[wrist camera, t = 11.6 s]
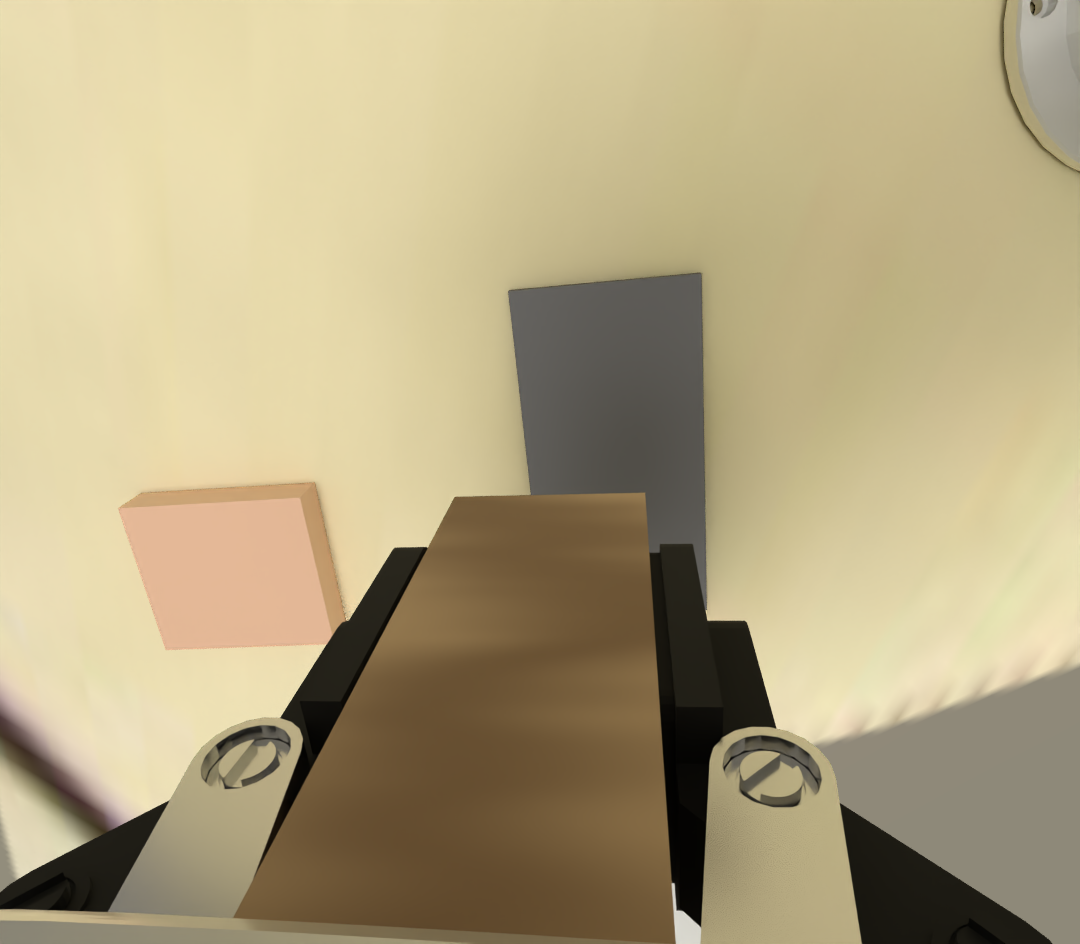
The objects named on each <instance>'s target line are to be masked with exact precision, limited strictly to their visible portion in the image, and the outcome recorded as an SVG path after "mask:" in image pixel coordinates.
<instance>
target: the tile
mask: <svg viewBox="0 0 1080 944" xmlns="http://www.w3.org/2000/svg"><path fill="white" fill-rule="evenodd" d="M118 510H119V513H120V516H121V519H122V522H123V525H124V527H125V530H126V533H127V536H128V539H129V542H130V545H131V548H132V551H133V554H134V557H135V560H136V563H137V566H138V569H139V572H140V575H141V578H142V581H143V584H144V587H145V590H146V593H147V596H148V598H149V601H150V604H151V607H152V610H153V613H154V616H155V619H156V622H157V625H158V628H159V631H160V634H161V637H162V640H163V643H164V646H165V649H166V650H178V649H206V648H234V647H262V646H290V645H318V644H327V643H328V642H329V640H330V639H331V637H332V635H333V634H334V632H335V631H336V629H337V628H338V626H339V625H340V624H341V623H342V622H345V621H346V620H345V615H344V611H343V606H342V602H341V597H340V593H339V589H338V584H337V580H336V575H335V571H334V566H333V562H332V557H331V553H330V548H329V544H328V540H327V535H326V531H325V526H324V522H323V517H322V513H321V508H320V504H319V499H318V495H317V491H316V486H315V483H300V484H283V485H266V486H250V487H233V488H217V489H200V490H183V491H167V492H150V493H141V494H139V495H138V496H136V497H135V498H133V499H131V500H130V501H128V502H127V503H125V504H124V505H122V506H121V507H119V508H118Z"/></svg>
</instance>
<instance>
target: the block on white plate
mask: <svg viewBox="0 0 1080 944" xmlns="http://www.w3.org/2000/svg"><path fill="white" fill-rule="evenodd" d="M233 918H239V919H258V920H278V921H297V922H315V923H333V924H351V925H368V926H386V927H404V928H421V929H438V930H455V931H472V932H489V933H506V934H523V935H540V936H556V937H571V938H587V939H603V940H618V941H634V942H650V943H665V944H700V943H701V927H700V926H699V925H698V924H696V923H695V922H694V921H693V920H692V919H691V918H690V917H689V916H688V915H687V914H686V913H685V912H683V911H676V897H675V883H672V881H671V866H670V851H669V837H668V822H667V807H666V792H665V778H664V763H663V748H662V733H661V719H660V704H659V689H658V674H657V660H656V645H655V630H654V616H653V601H652V586H651V571H650V557H649V542H648V527H647V512H646V498H645V493H608V494H564V495H519V496H475V497H455V498H454V499H453V501H452V503H451V505H450V507H449V509H448V511H447V513H446V515H445V517H444V518H443V520H442V522H441V524H440V526H439V528H438V530H437V532H436V534H435V536H434V537H433V539H432V541H431V543H430V545H429V547H428V549H427V551H426V553H425V554H424V556H423V558H422V560H421V562H420V564H419V566H418V568H417V570H416V572H415V573H414V575H413V577H412V579H411V581H410V583H409V585H408V587H407V589H406V591H405V592H404V594H403V596H402V598H401V600H400V602H399V604H398V606H397V608H396V610H395V611H394V613H393V615H392V617H391V619H390V621H389V623H388V625H387V627H386V628H385V630H384V632H383V634H382V636H381V638H380V640H379V642H378V644H377V646H376V647H375V649H374V651H373V653H372V655H371V657H370V659H369V661H368V663H367V665H366V666H365V668H364V670H363V672H362V674H361V676H360V678H359V680H358V682H357V684H356V685H355V687H354V689H353V691H352V693H351V695H350V697H349V699H348V701H347V702H346V704H345V706H344V708H343V710H342V712H341V714H340V716H339V718H338V720H337V721H336V723H335V725H334V727H333V729H332V731H331V733H330V735H329V737H328V739H327V740H326V742H325V744H324V746H323V748H322V750H321V752H320V754H319V756H318V758H317V759H316V761H315V763H314V765H313V767H312V769H311V771H310V773H309V775H308V776H307V778H306V780H305V782H304V784H303V786H302V788H301V790H300V792H299V794H298V795H297V797H296V799H295V801H294V803H293V805H292V807H291V809H290V811H289V813H288V814H287V816H286V818H285V820H284V822H283V824H282V826H281V828H280V830H279V832H278V833H277V835H276V837H275V839H274V841H273V843H272V845H271V847H270V849H269V850H268V852H267V854H266V856H265V858H264V860H263V862H262V864H261V866H260V868H259V869H258V871H257V873H256V875H255V877H254V879H253V881H252V883H251V885H250V887H249V888H248V890H247V892H246V894H245V896H244V898H243V900H242V902H241V904H240V906H239V907H238V909H237V911H236V913H235V915H234V917H233Z"/></svg>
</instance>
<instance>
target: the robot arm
mask: <svg viewBox="0 0 1080 944" xmlns="http://www.w3.org/2000/svg"><path fill="white" fill-rule="evenodd" d="M1031 2H1033V3H1034V4H1035V12H1034V14H1032V13H1031V11H1030V3H1031ZM1004 60H1005V65H1006V70H1007V75H1008V79H1009V84H1010V89H1011V93H1012V96H1013V98H1014V100H1015V102H1016V105H1017V107H1018V109H1019V111H1020V113H1021V116H1022V118H1023V120H1024V122H1025V124H1026V125H1027V126H1028V128H1029V129H1030V130H1031V132H1032V133H1033V134H1034V135H1035V137H1036V138H1037V139H1038V141H1039V142H1040V143H1041V144H1042V146H1043V147H1044V148H1045V149H1047V150H1048V151H1049V152H1050V153H1052V154H1053V155H1054V156H1055V157H1057V158H1058V159H1059V160H1060V161H1062V162H1063V163H1064V164H1066V165H1067V166H1069V167H1071V168H1073V169H1075V170H1078V171H1080V0H1007V5H1006V12H1005V18H1004ZM427 549H428V548H427V547H405V548H394V549H393V550H392V552H391V554H390V555H389V557H388V558H387V560H386V562H385V563H384V565H383V566H382V568H381V570H380V571H379V573H378V575H377V576H376V578H375V579H374V581H373V583H372V584H371V586H370V587H369V589H368V591H367V592H366V594H365V596H364V597H363V599H362V600H361V602H360V604H359V605H358V607H357V608H356V610H355V612H354V613H353V615H352V617H351V618H350V620H349V621H345V622H342V623H341V624H340V625H339V626H338V628H337V629H336V631H335V632H334V634H333V635H332V637H331V639H330V640H329V642H328V643H327V645H326V646H325V648H324V650H323V651H322V653H321V654H320V656H319V658H318V659H317V661H316V662H315V664H314V665H313V667H312V669H311V670H310V672H309V673H308V675H307V676H306V678H305V680H304V681H303V683H302V684H301V686H300V687H299V689H298V691H297V692H296V694H295V695H294V697H293V698H292V700H291V702H290V703H289V705H288V706H287V708H286V710H285V711H284V713H283V714H282V716H281V717H280V718H259V719H254V720H249V721H245V722H243V723H240V724H238V725H235V726H232V727H230V728H228V729H227V730H225V731H223V732H221V733H220V734H218V735H216V736H215V737H214V738H212V739H211V740H210V741H209V742H208V743H206V744H205V745H204V746H203V747H202V748H201V749H200V750H199V752H198V753H197V754H196V756H195V757H194V758H193V760H192V761H191V763H190V765H189V767H188V769H187V770H186V772H185V774H184V776H183V778H182V779H181V781H180V783H179V785H178V787H177V788H176V790H175V792H174V794H173V796H172V797H171V799H170V800H169V801H167V802H165V803H163V804H161V805H159V806H157V807H156V808H154V809H152V810H150V811H148V812H146V813H144V814H142V815H140V816H138V817H136V818H134V819H132V820H130V821H128V822H126V823H124V824H122V825H120V826H118V827H117V828H115V829H113V830H111V831H109V832H107V833H105V834H103V835H101V836H99V837H97V838H95V839H93V840H91V841H89V842H87V843H85V844H83V845H81V846H79V847H78V848H76V849H74V850H72V851H70V852H68V853H66V854H64V855H62V856H60V857H58V858H56V859H54V860H52V861H50V862H48V863H46V864H44V865H42V866H41V867H39V868H37V869H35V870H33V871H31V872H29V873H28V874H26V875H24V876H23V877H21V878H19V879H18V880H16V881H15V882H13V883H11V884H10V885H9V886H7V887H6V888H5V889H4V890H3V891H1V892H0V944H665V943H650V942H634V941H618V940H603V939H587V938H571V937H556V936H540V935H523V934H506V933H489V932H472V931H455V930H438V929H421V928H404V927H386V926H368V925H351V924H333V923H315V922H297V921H278V920H258V919H239V918H233V917H234V915H235V913H236V911H237V909H238V907H239V906H240V904H241V902H242V900H243V898H244V896H245V894H246V892H247V890H248V888H249V887H250V885H251V883H252V881H253V879H254V877H255V875H256V873H257V871H258V869H259V868H260V866H261V864H262V862H263V860H264V858H265V856H266V854H267V852H268V850H269V849H270V847H271V845H272V843H273V841H274V839H275V837H276V835H277V833H278V832H279V830H280V828H281V826H282V824H283V822H284V820H285V818H286V816H287V814H288V813H289V811H290V809H291V807H292V805H293V803H294V801H295V799H296V797H297V795H298V794H299V792H300V790H301V788H302V786H303V784H304V782H305V780H306V778H307V776H308V775H309V773H310V771H311V769H312V767H313V765H314V763H315V761H316V759H317V758H318V756H319V754H320V752H321V750H322V748H323V746H324V744H325V742H326V740H327V739H328V737H329V735H330V733H331V731H332V729H333V727H334V725H335V723H336V721H337V720H338V718H339V716H340V714H341V712H342V710H343V708H344V706H345V704H346V702H347V701H348V699H349V697H350V695H351V693H352V691H353V689H354V687H355V685H356V684H357V682H358V680H359V678H360V676H361V674H362V672H363V670H364V668H365V666H366V665H367V663H368V661H369V659H370V657H371V655H372V653H373V651H374V649H375V647H376V646H377V644H378V642H379V640H380V638H381V636H382V634H383V632H384V630H385V628H386V627H387V625H388V623H389V621H390V619H391V617H392V615H393V613H394V611H395V610H396V608H397V606H398V604H399V602H400V600H401V598H402V596H403V594H404V592H405V591H406V589H407V587H408V585H409V583H410V581H411V579H412V577H413V575H414V573H415V572H416V570H417V568H418V566H419V564H420V562H421V560H422V558H423V556H424V554H425V553H426V551H427ZM649 557H650V571H651V586H652V601H653V616H654V630H655V645H656V660H657V674H658V689H659V704H660V719H661V733H662V748H663V763H664V778H665V792H666V807H667V822H668V837H669V851H670V866H671V881H672V883H675V897H676V911H683V912H685V913H686V914H687V915H688V916H689V917H690V918H691V919H692V920H693V921H694V922H695V923H696V924H698V925H699V926H700V927H701V943H700V944H1052V943H1051V941H1050V940H1049V939H1047V938H1046V937H1045V936H1044V935H1042V934H1041V933H1040V932H1038V931H1037V930H1036V929H1034V928H1033V927H1032V926H1030V925H1029V924H1028V923H1026V922H1025V921H1024V920H1022V919H1021V918H1019V917H1018V916H1016V915H1014V914H1013V913H1011V912H1010V911H1008V910H1007V909H1005V908H1003V907H1002V906H1000V905H999V904H997V903H995V902H994V901H993V900H991V899H989V898H988V897H986V896H985V895H983V894H982V893H980V892H978V891H977V890H975V889H974V888H972V887H971V886H969V885H967V884H966V883H964V882H962V881H961V880H960V879H958V878H956V877H955V876H953V875H952V874H950V873H949V872H947V871H945V870H944V869H942V868H941V867H939V866H937V865H936V864H935V863H933V862H931V861H930V860H928V859H927V858H925V857H924V856H922V855H920V854H919V853H917V852H916V851H914V850H913V849H911V848H909V847H908V846H906V845H905V844H903V843H902V842H900V841H898V840H897V839H895V838H894V837H892V836H891V835H889V834H888V833H886V832H884V831H883V830H881V829H880V828H878V827H877V826H875V825H873V824H872V823H870V822H869V821H867V820H866V819H864V818H862V817H861V816H859V815H858V814H856V813H855V812H853V811H851V810H850V809H848V808H847V807H845V806H844V805H842V804H840V802H839V797H838V790H837V783H836V777H835V775H834V772H833V769H832V767H831V764H830V762H829V761H828V760H827V759H826V757H825V756H824V755H823V754H822V752H821V751H820V750H819V749H818V748H816V747H815V746H814V745H812V744H811V743H810V742H808V741H807V740H806V739H804V738H802V737H799V736H797V735H795V734H793V733H790V732H788V731H784V730H780V729H776V725H775V722H774V718H773V714H772V711H771V707H770V703H769V700H768V696H767V693H766V689H765V685H764V682H763V678H762V675H761V671H760V667H759V664H758V660H757V656H756V653H755V649H754V646H753V642H752V638H751V635H750V631H749V628H748V625H747V622H745V621H707V617H706V611H705V606H704V601H703V595H702V590H701V585H700V579H699V574H698V569H697V563H696V558H695V553H694V547H693V544H660V550H659V552H658V553H649Z"/></svg>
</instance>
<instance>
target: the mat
mask: <svg viewBox="0 0 1080 944" xmlns="http://www.w3.org/2000/svg"><path fill="white" fill-rule="evenodd" d="M508 294H509V303H510V312H511V320H512V329H513V338H514V347H515V356H516V365H517V374H518V383H519V392H520V401H521V410H522V419H523V428H524V437H525V446H526V455H527V464H528V473H529V482H530V490H531V495H564V494H608V493H645V498H646V512H647V527H648V542H649V553H658V552H659V550H660V544H693V547H694V553H695V558H696V563H697V569H698V574H699V579H700V585H701V590H702V595H703V601H704V606H705V610H707V597H706V534H705V471H704V408H703V346H702V283H701V273H692V274H681V275H670V276H659V277H648V278H637V279H626V280H616V281H605V282H594V283H583V284H572V285H561V286H550V287H540V288H529V289H518V290H509V291H508Z"/></svg>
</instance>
